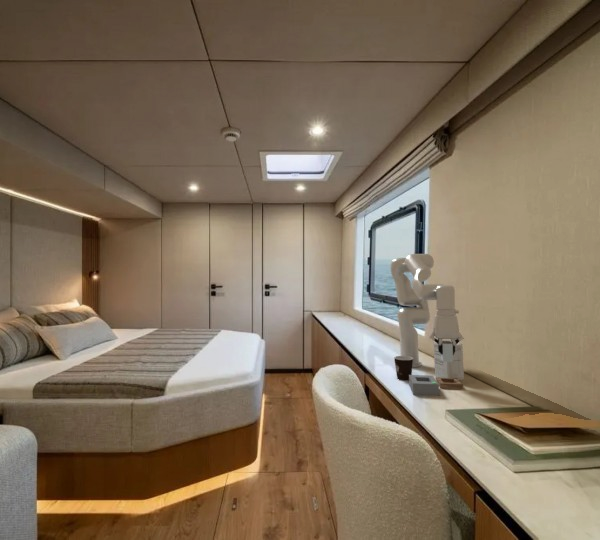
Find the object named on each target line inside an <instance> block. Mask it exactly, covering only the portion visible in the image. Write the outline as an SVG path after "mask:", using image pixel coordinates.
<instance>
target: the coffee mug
mask: <svg viewBox="0 0 600 540" xmlns="http://www.w3.org/2000/svg"><path fill="white" fill-rule="evenodd" d="M412 364H413V358H412V357H409V356H401V355H396V356H394V365H395V372H396V373H395V374H396V380H398V379H399V381H409V375H413V367H412Z"/></svg>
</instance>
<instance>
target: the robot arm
mask: <svg viewBox="0 0 600 540" xmlns="http://www.w3.org/2000/svg"><path fill="white" fill-rule="evenodd" d="M434 265H435V260H434V258H433V256H432V255H431V254H429V253H412V254H408V255H407V256H406V257H397V258H394V259H392V261H391V262H390V273H391V276H392V279H393V281H394V285H395V291H396V299H397V302H398V304H399V305H400V306H406V307H403V308H400V309H399V310H398V311H397V315H396V317H397V322H398V328H399V345H400V346H399V348H400V356H409V357H412V358H413V364H412V368H420V367H422V365H423V363H422V362H421V361H420V360H419V334H418V331H417V329H416V328H415V326H416V325H417V326H418V325H426V324H428V323H429V322H430V318H431V316H430V315H431V314H430V309H429V302H428V301H436V302H435V303H436V306H435V307H436V315H434V316H433V317H434V319H433V331H432V333H431V334H430V336H429V338H430V339H431V340H432V341H434V342H436V343H437V344H438V351H439V352H440V354H441V355H442V354H443V346H442V341H443V339H444V340H445V339H446V340H447V339H448V340H449V339H450V341H451V343H452V344H453V355H454V353H455V346H456V344H457V343H460V341H463V340H464V337H463V334H461V332H460V326H459V320H458V317H457V314H459V310H457V309H456V297H455V296H456V295H455V294H456V293H455V292H456V291H455V287H454V286H453V285H451V284H450V285H449V284H448V285H447V284H442V283H435V284H433V283H431V284H430V283H429V284H424V283H423V282H425V281H427V280H429V278H430V277H431V275H432V271H431V269H432V268H433V267H434ZM405 273H406V274H407V273H411V275H412V281H411V279H410V278H409V277H408V276H407V275H406V274H405ZM407 306H408V307H407ZM409 306H416V307H409Z"/></svg>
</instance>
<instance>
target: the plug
mask: <svg viewBox="0 0 600 540" xmlns="http://www.w3.org/2000/svg"><path fill="white" fill-rule="evenodd" d="M450 341H451V340H442V346H443V354H442V355H441V360H442V361H443V362H453V344H452V343H451V342H450Z"/></svg>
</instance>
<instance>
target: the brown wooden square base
mask: <svg viewBox="0 0 600 540" xmlns="http://www.w3.org/2000/svg"><path fill="white" fill-rule="evenodd" d="M435 380H436V381H437V383H438V384H439V389H446V390H449V389H450V390H463V389H464V385H463V383H462V381H461V380H458V379H457V378H441V377H436V376H435Z"/></svg>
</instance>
